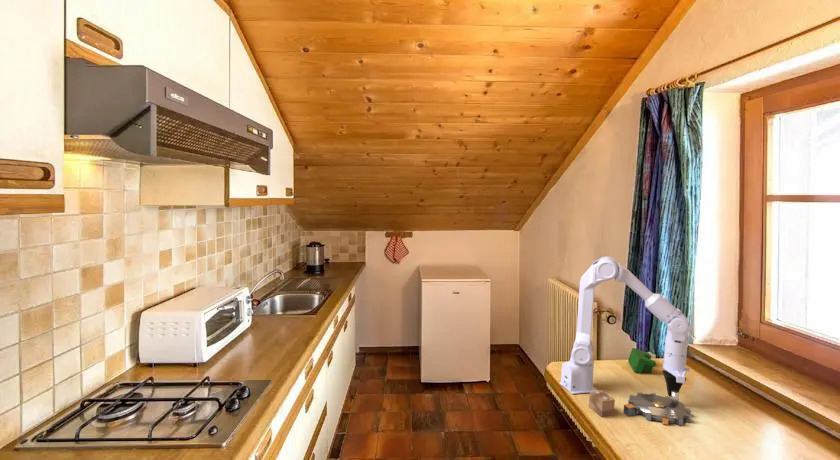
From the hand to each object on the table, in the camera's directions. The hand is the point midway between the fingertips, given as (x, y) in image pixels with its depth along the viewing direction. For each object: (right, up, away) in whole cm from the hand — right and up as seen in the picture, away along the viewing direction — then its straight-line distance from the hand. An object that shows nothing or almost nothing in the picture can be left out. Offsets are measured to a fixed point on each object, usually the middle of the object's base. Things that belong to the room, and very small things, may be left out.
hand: (672, 396), depth 129 cm
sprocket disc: (-6, -3, -4) cm, 8 cm away
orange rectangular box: (-16, -3, -6) cm, 17 cm away
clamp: (+5, -1, +28) cm, 28 cm away
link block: (-24, -3, -4) cm, 24 cm away
